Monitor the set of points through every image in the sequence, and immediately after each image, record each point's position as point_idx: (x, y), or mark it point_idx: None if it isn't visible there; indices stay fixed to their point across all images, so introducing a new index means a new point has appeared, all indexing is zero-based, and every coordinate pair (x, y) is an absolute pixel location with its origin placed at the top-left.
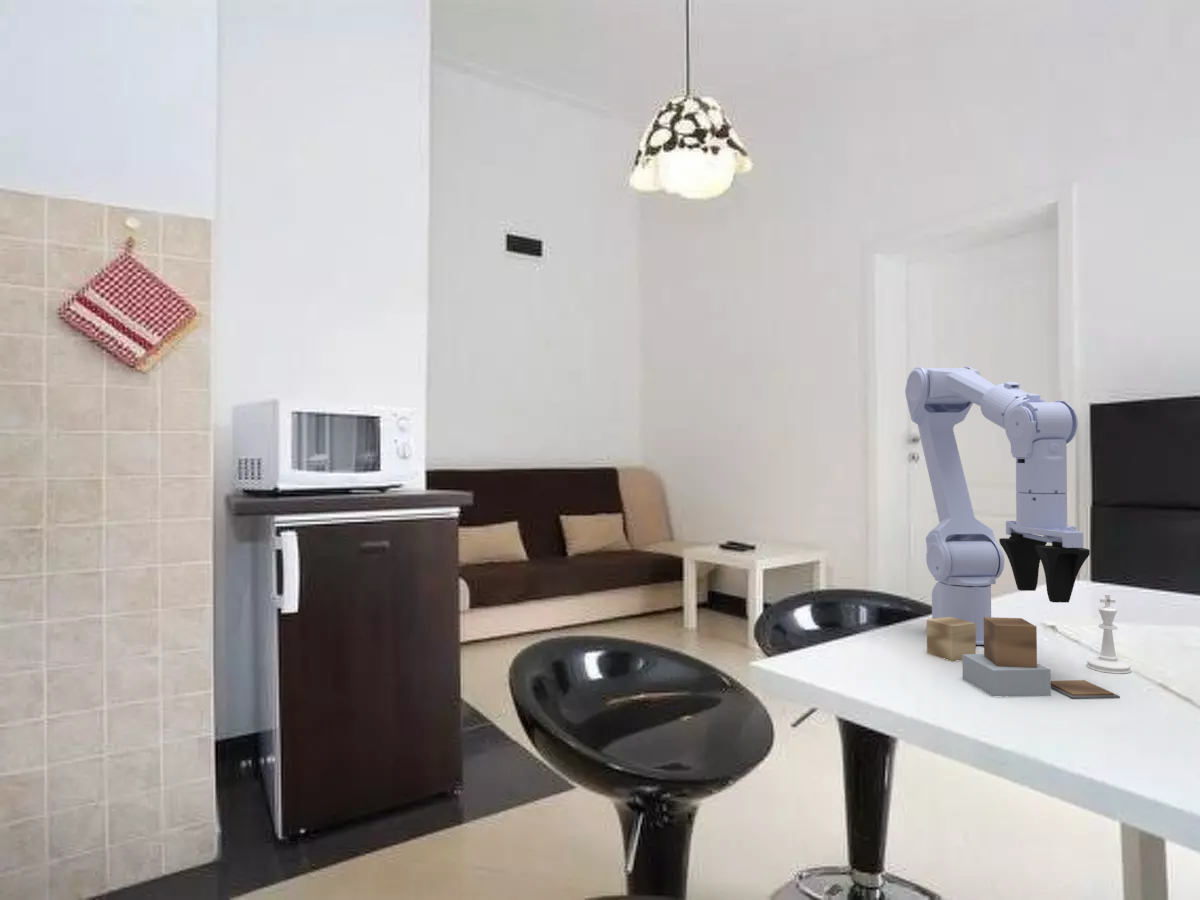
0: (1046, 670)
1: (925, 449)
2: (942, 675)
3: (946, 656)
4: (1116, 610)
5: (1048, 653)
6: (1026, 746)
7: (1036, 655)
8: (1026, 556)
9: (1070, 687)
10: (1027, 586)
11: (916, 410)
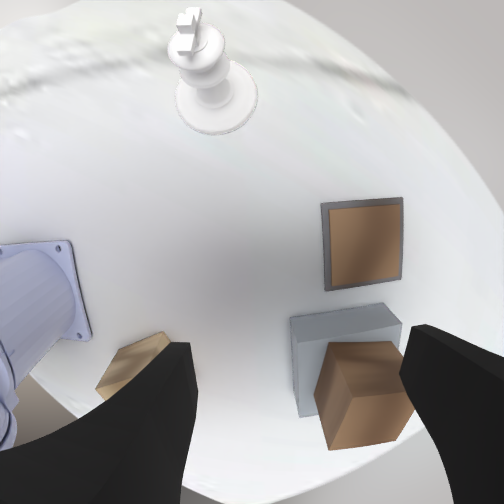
0: (401, 329)
1: None
2: (278, 408)
3: None
4: (214, 26)
5: (108, 169)
6: None
7: (400, 354)
8: (159, 498)
9: (369, 262)
10: (191, 381)
11: None
